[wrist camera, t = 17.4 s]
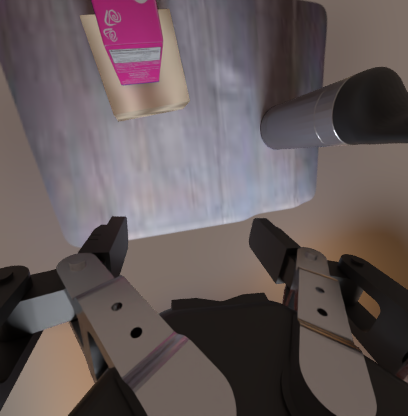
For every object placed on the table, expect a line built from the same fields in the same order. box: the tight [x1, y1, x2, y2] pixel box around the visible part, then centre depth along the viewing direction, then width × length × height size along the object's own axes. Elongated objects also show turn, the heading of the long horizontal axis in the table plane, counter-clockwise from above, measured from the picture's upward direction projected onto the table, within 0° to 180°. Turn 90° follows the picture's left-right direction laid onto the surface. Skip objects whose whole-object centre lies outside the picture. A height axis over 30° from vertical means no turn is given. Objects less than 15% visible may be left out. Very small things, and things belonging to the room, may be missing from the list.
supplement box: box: [91, 0, 163, 85], centre depth 22 cm, size 6×6×12 cm
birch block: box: [80, 9, 190, 121], centre depth 31 cm, size 12×12×6 cm
